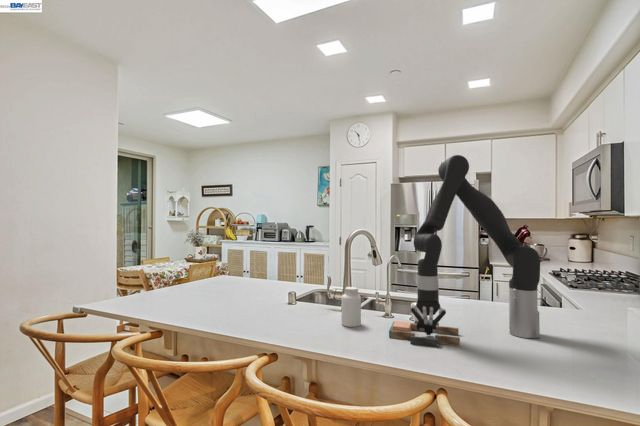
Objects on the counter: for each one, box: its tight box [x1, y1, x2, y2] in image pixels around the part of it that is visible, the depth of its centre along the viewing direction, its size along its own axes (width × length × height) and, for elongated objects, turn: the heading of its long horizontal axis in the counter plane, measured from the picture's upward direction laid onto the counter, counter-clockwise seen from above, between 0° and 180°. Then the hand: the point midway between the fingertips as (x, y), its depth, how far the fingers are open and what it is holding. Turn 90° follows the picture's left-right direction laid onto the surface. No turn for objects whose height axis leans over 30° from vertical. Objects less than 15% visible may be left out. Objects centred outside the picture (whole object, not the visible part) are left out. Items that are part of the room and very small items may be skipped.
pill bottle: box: [341, 286, 362, 328], centre depth 142 cm, size 8×8×15 cm
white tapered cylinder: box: [410, 301, 424, 322], centre depth 148 cm, size 7×7×7 cm
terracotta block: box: [392, 320, 412, 332], centre depth 130 cm, size 6×7×4 cm
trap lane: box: [388, 321, 461, 348], centre depth 127 cm, size 24×20×2 cm
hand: (428, 334), depth 127 cm, fingers closed
